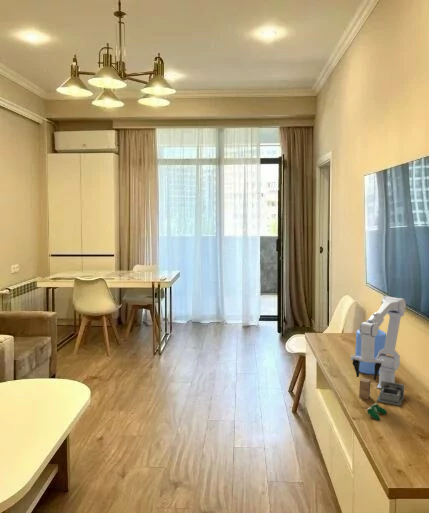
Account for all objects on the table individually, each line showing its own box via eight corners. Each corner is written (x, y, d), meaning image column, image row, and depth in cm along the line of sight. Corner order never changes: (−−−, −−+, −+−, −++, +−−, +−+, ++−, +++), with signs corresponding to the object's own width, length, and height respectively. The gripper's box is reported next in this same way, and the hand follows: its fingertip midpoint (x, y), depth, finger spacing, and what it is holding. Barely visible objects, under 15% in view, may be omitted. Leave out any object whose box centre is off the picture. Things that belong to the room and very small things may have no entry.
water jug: (388, 375, 263) (391, 322, 260) (358, 374, 263) (361, 322, 261) (379, 366, 278) (382, 316, 276) (351, 365, 279) (353, 315, 276)
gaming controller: (381, 417, 214) (372, 404, 216) (388, 412, 212) (378, 400, 214) (373, 423, 207) (363, 411, 209) (380, 419, 205) (370, 406, 207)
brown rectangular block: (360, 395, 234) (361, 378, 233) (369, 396, 232) (370, 379, 231) (359, 397, 230) (359, 380, 230) (368, 399, 228) (368, 382, 228)
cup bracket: (381, 393, 236) (381, 380, 236) (403, 397, 232) (404, 384, 231) (376, 401, 226) (377, 388, 225) (400, 405, 221) (401, 392, 221)
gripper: (349, 348, 228) (348, 377, 229) (383, 353, 221) (381, 383, 223) (352, 344, 234) (351, 373, 235) (385, 349, 228) (384, 378, 229)
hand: (366, 377), depth 229 cm, fingers open, 7 cm apart
